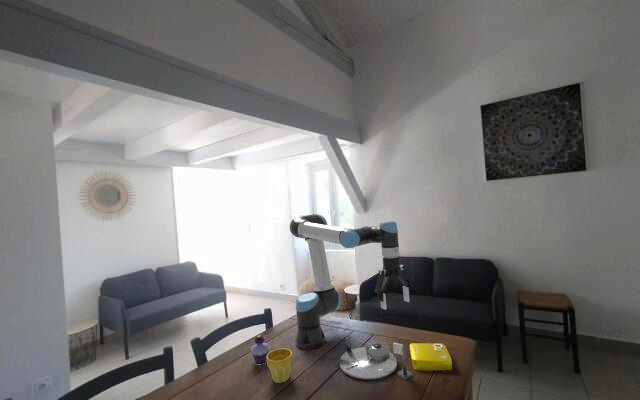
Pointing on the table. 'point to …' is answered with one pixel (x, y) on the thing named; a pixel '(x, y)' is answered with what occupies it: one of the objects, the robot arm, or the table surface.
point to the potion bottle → (260, 350)
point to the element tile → (430, 356)
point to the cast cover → (377, 351)
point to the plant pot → (279, 364)
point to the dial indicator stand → (401, 350)
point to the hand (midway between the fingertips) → (395, 305)
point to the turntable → (364, 364)
